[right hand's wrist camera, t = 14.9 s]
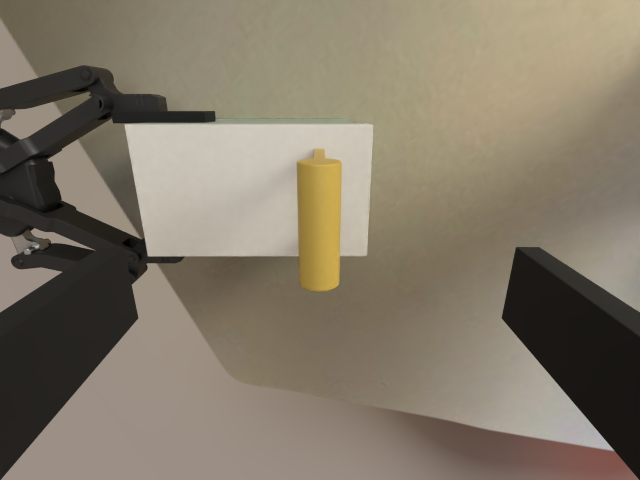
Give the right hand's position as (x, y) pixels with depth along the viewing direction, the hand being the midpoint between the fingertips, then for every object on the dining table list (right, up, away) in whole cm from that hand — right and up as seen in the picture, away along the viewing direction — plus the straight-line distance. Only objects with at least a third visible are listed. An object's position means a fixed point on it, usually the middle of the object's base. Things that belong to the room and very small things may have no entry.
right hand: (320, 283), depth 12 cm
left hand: (-8, +6, +16) cm, 19 cm away
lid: (-5, +5, +14) cm, 15 cm away
